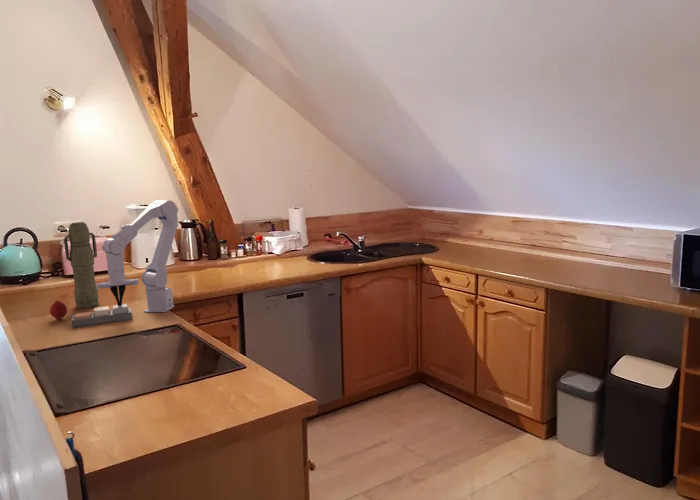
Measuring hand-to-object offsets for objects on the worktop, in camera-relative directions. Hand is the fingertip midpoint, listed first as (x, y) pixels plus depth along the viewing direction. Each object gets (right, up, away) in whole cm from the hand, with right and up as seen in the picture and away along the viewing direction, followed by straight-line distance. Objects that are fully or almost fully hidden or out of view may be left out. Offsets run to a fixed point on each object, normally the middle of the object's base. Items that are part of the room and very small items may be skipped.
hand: (119, 305), depth 218 cm
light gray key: (0, -3, +1) cm, 3 cm away
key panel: (-6, -6, -2) cm, 8 cm away
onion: (-24, -6, +3) cm, 25 cm away
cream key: (-6, -4, -2) cm, 7 cm away
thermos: (-23, -3, +23) cm, 32 cm away
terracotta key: (-12, -6, -4) cm, 14 cm away
